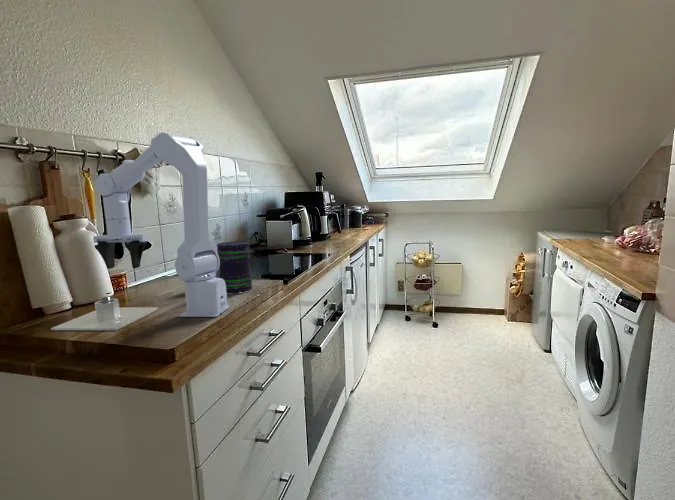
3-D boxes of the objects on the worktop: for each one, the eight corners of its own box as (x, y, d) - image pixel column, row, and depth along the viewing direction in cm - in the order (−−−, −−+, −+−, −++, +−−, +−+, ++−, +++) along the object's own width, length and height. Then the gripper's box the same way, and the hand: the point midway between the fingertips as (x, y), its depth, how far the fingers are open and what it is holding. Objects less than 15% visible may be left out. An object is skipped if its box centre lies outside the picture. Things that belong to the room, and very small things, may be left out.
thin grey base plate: (157, 309, 99) (155, 289, 98) (115, 330, 83) (112, 306, 82) (102, 309, 101) (100, 289, 100) (51, 330, 85) (47, 307, 84)
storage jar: (228, 286, 122) (225, 241, 120) (257, 286, 121) (254, 240, 119) (214, 294, 113) (210, 245, 111) (245, 294, 111) (241, 244, 109)
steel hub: (124, 313, 94) (122, 298, 93) (110, 320, 89) (108, 304, 89) (106, 313, 94) (104, 298, 94) (92, 320, 90) (90, 304, 89)
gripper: (151, 217, 104) (156, 264, 106) (104, 219, 106) (109, 265, 108) (135, 219, 98) (141, 269, 99) (84, 220, 99) (91, 270, 101)
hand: (123, 268), depth 103 cm, fingers open, 7 cm apart
